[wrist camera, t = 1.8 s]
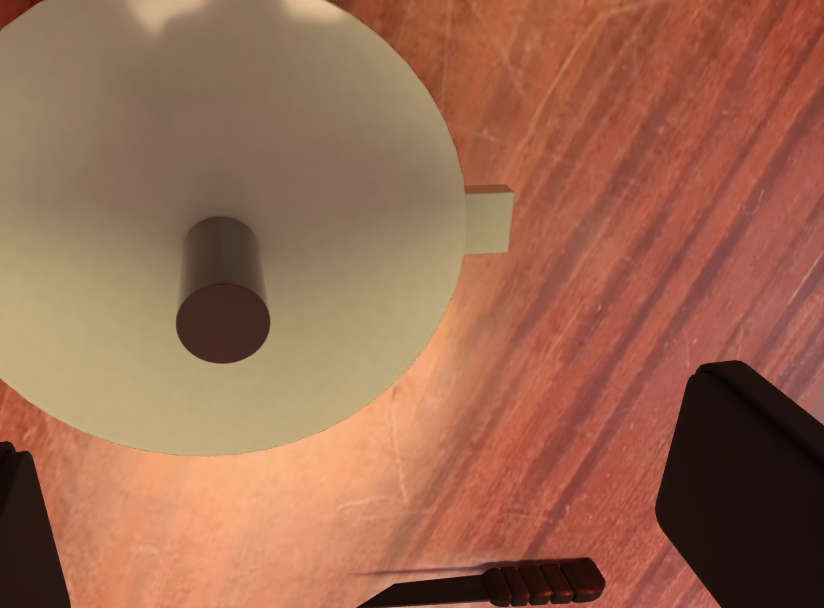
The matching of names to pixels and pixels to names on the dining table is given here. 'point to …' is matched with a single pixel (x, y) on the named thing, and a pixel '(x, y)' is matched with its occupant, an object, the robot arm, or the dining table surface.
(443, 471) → the dining table surface
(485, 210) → the pot
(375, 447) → the dining table surface
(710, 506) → the robot arm
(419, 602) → the knife
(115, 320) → the lid
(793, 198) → the dining table surface
